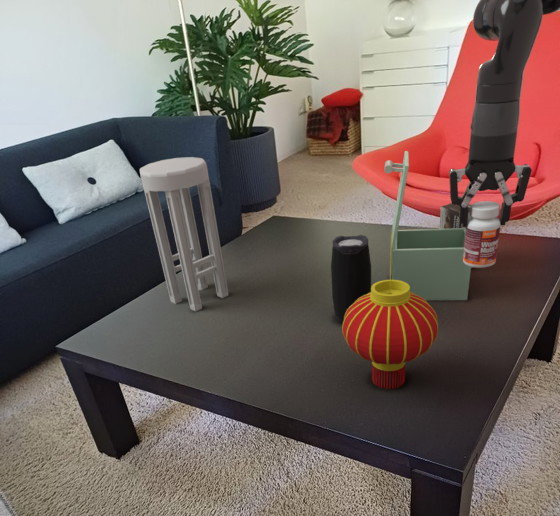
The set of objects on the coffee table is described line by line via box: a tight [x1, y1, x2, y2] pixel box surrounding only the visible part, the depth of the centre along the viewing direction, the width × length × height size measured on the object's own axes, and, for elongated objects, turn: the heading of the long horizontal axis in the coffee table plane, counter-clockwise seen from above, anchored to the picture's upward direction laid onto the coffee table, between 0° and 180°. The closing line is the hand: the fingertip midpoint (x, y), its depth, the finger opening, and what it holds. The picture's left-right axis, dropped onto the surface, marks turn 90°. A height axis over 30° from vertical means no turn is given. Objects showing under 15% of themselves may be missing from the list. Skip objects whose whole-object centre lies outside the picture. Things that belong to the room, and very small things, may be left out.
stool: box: [139, 156, 230, 312], centre depth 132 cm, size 16×16×35 cm
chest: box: [391, 228, 472, 301], centre depth 130 cm, size 18×14×13 cm
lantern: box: [341, 231, 439, 390], centre depth 94 cm, size 17×17×30 cm
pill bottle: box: [463, 200, 502, 269], centre depth 100 cm, size 6×6×11 cm
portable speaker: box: [330, 234, 372, 325], centre depth 119 cm, size 9×9×20 cm
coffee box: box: [438, 202, 475, 269], centre depth 139 cm, size 9×6×16 cm
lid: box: [383, 150, 410, 250], centre depth 122 cm, size 19×14×5 cm
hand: (483, 224), depth 99 cm, fingers closed on pill bottle, 6 cm apart
